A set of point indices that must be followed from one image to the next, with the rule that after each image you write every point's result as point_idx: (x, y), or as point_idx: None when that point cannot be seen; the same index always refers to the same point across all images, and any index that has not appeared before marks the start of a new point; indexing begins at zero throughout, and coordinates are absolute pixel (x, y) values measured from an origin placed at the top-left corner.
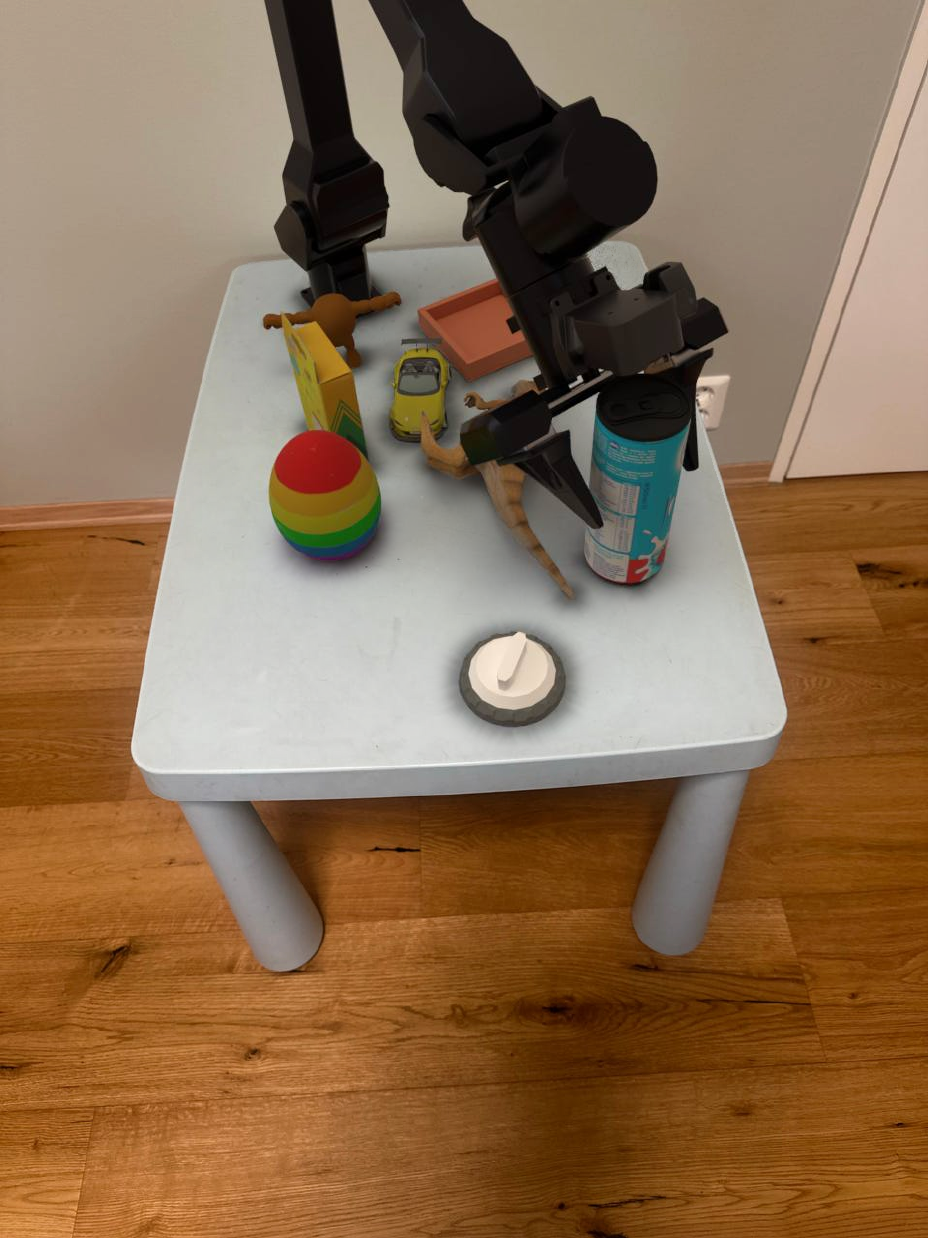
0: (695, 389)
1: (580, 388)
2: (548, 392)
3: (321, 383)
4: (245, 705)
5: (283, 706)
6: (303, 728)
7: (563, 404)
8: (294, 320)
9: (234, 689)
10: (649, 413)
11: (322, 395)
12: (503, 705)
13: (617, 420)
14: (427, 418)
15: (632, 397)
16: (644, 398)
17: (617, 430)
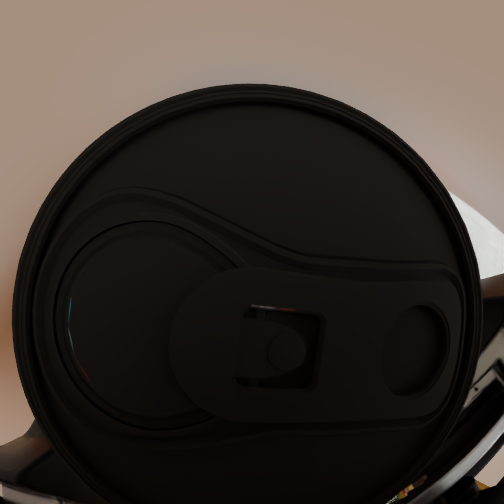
0: (34, 422)
1: (460, 470)
2: (488, 455)
3: (486, 487)
4: (493, 261)
5: (483, 252)
6: (476, 232)
7: (450, 442)
8: None
9: (496, 274)
10: (286, 272)
11: (479, 482)
12: None
13: (441, 281)
14: (409, 487)
15: (308, 439)
16: (262, 408)
17: (457, 209)
